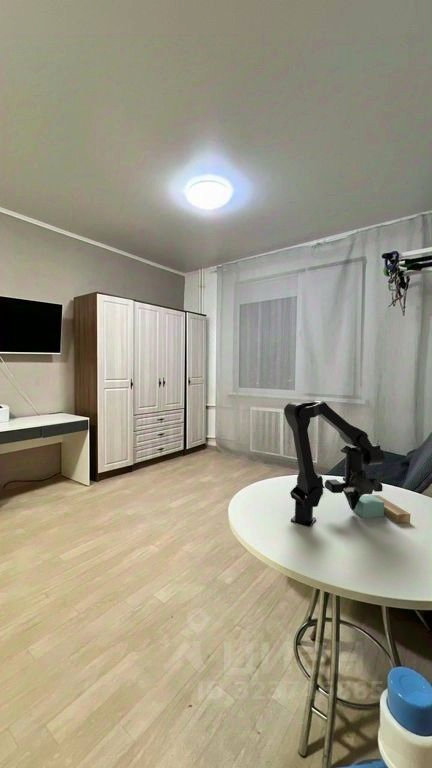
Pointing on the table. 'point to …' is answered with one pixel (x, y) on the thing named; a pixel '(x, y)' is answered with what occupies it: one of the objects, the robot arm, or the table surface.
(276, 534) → the table surface
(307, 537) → the table surface
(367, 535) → the table surface
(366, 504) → the block
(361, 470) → the robot arm
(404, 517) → the board
